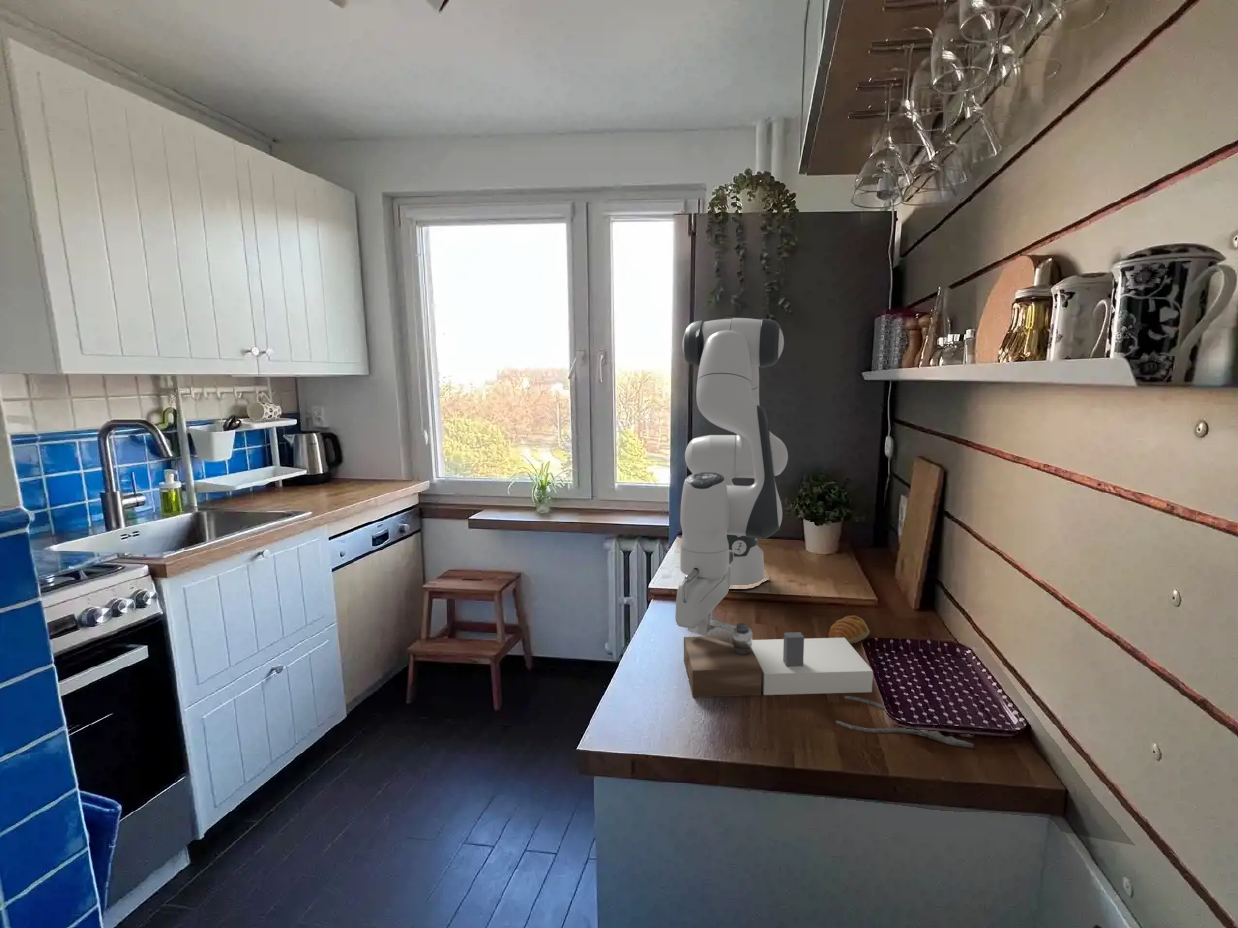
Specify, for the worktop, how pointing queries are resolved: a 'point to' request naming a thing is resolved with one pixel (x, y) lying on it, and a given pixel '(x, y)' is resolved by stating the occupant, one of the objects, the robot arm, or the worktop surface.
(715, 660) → the jamb block
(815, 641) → the door panel
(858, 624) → the pastry
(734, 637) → the lock bar
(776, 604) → the worktop surface
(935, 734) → the pliers
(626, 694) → the worktop surface
